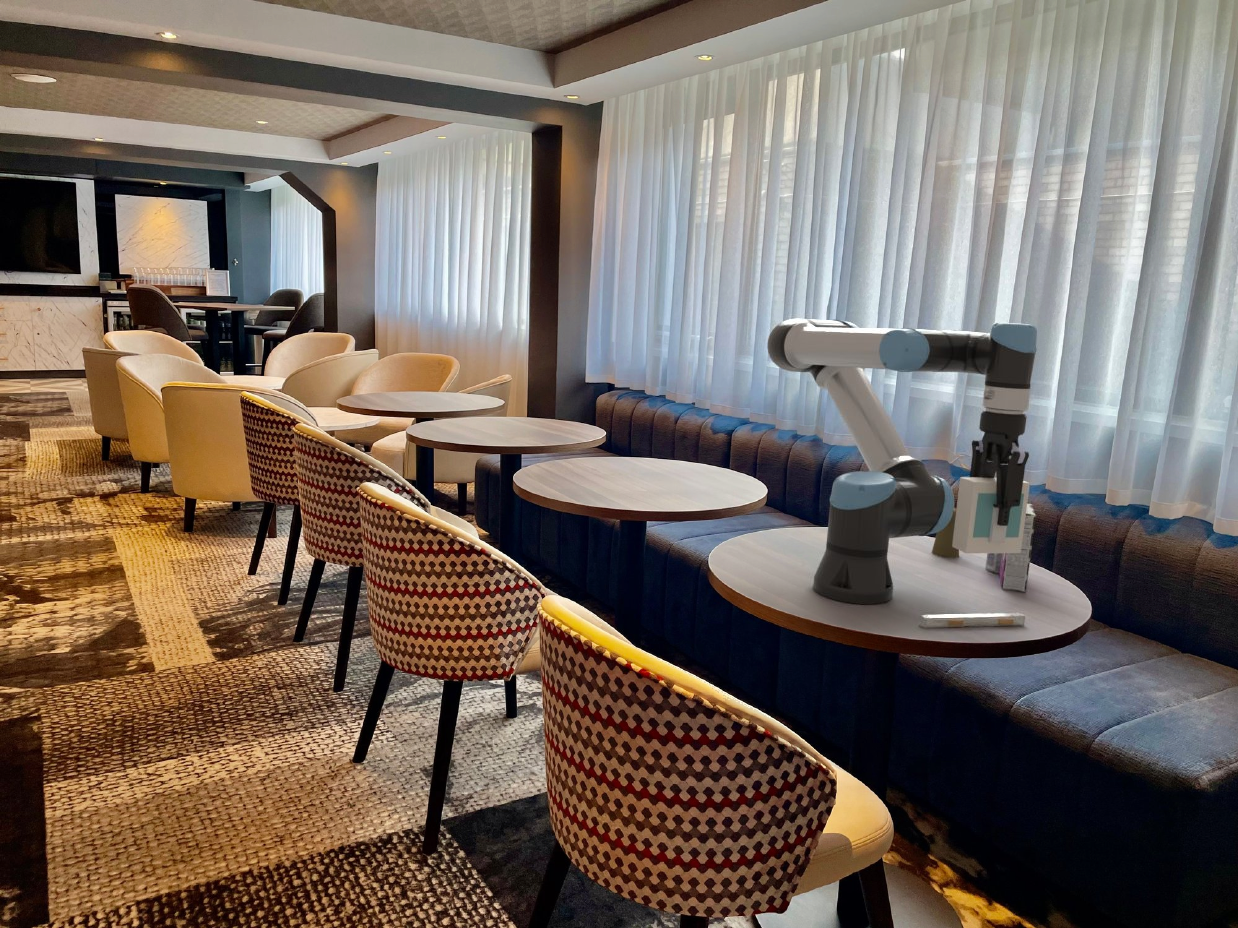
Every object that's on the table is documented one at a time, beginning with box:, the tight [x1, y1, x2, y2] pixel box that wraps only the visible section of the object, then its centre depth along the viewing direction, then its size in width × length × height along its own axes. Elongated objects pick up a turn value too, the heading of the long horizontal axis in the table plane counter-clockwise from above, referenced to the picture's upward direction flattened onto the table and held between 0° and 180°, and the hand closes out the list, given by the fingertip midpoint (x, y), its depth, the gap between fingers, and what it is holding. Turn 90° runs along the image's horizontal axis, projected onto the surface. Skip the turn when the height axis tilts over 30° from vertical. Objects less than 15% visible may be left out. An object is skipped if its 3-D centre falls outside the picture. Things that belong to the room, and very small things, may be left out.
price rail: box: [918, 612, 1026, 629], centre depth 161 cm, size 20×2×2 cm, turn 102°
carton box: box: [952, 476, 1031, 554], centre depth 164 cm, size 5×11×13 cm, turn 101°
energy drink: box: [985, 553, 1002, 574], centre depth 197 cm, size 5×5×12 cm
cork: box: [931, 507, 960, 559], centre depth 209 cm, size 6×6×11 cm
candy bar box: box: [999, 503, 1037, 593], centre depth 188 cm, size 11×5×16 cm, turn 160°
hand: (987, 537), depth 164 cm, fingers closed on carton box, 5 cm apart
